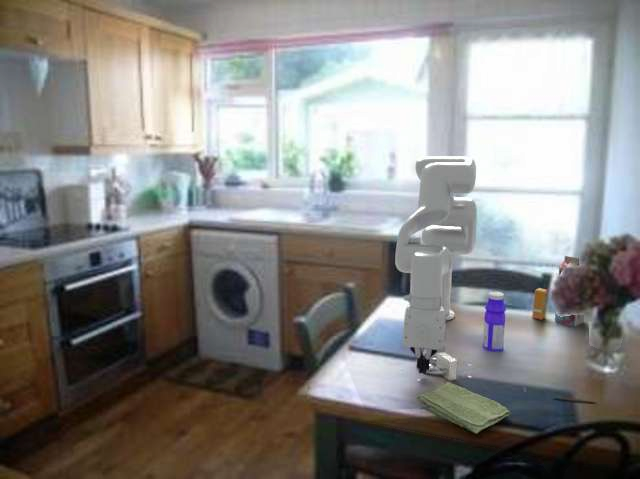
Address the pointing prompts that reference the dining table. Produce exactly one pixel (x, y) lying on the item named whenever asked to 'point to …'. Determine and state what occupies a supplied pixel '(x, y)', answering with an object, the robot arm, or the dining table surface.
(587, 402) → the fork
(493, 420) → the washcloth
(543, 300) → the supplement box
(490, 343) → the bottle
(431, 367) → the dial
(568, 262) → the juice carton
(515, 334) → the dining table surface
